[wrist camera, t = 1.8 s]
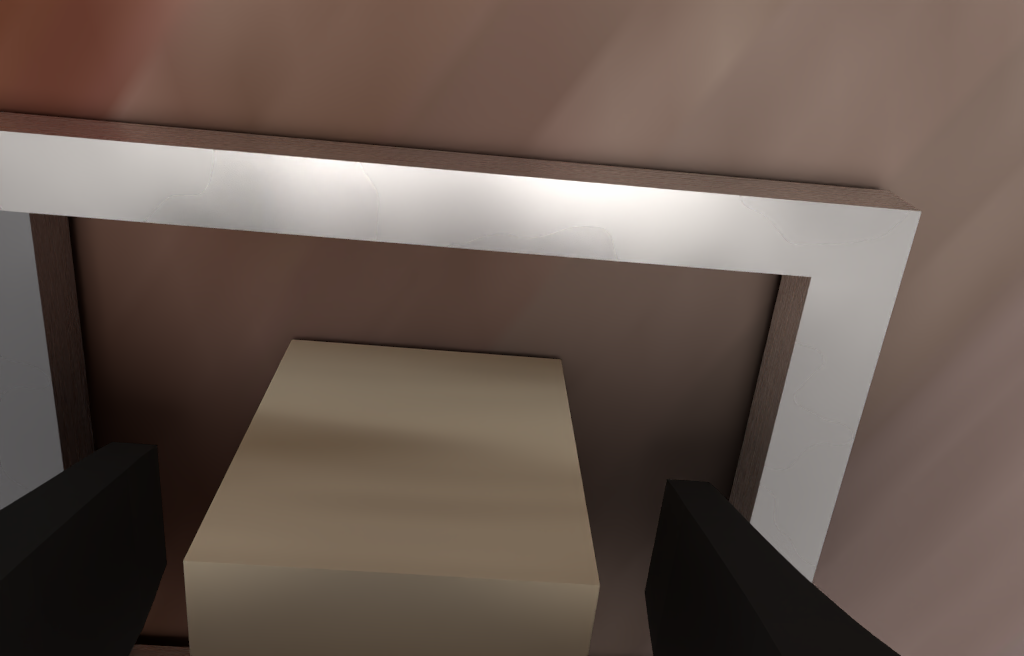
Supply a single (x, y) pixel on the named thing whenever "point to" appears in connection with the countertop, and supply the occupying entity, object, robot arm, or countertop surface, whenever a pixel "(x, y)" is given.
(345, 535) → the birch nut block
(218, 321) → the countertop surface
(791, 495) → the rail frame
